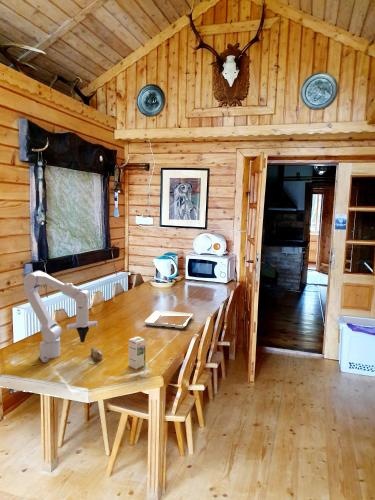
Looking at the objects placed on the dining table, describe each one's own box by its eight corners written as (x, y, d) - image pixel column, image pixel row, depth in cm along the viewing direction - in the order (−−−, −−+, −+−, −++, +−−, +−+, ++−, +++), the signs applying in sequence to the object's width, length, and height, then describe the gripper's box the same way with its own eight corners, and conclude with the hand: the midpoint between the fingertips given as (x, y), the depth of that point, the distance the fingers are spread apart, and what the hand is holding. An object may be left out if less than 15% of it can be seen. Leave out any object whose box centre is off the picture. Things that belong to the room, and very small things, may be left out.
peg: (97, 363, 175) (97, 354, 175) (87, 355, 185) (88, 346, 184) (105, 361, 178) (105, 352, 177) (96, 353, 187) (96, 344, 187)
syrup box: (136, 372, 171) (136, 341, 170) (128, 367, 175) (128, 338, 174) (145, 368, 176) (146, 339, 174) (137, 364, 180) (137, 335, 178)
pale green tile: (90, 361, 178) (90, 361, 178) (95, 362, 177) (95, 362, 177) (87, 363, 176) (87, 362, 176) (92, 364, 175) (92, 363, 175)
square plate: (155, 314, 263) (155, 309, 262) (193, 318, 257) (193, 313, 257) (143, 326, 236) (143, 320, 236) (185, 331, 231) (185, 325, 230)
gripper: (69, 318, 172) (69, 346, 174) (99, 315, 180) (99, 342, 181) (65, 314, 178) (65, 341, 180) (95, 311, 186) (95, 337, 187)
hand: (82, 341), depth 181 cm, fingers closed
